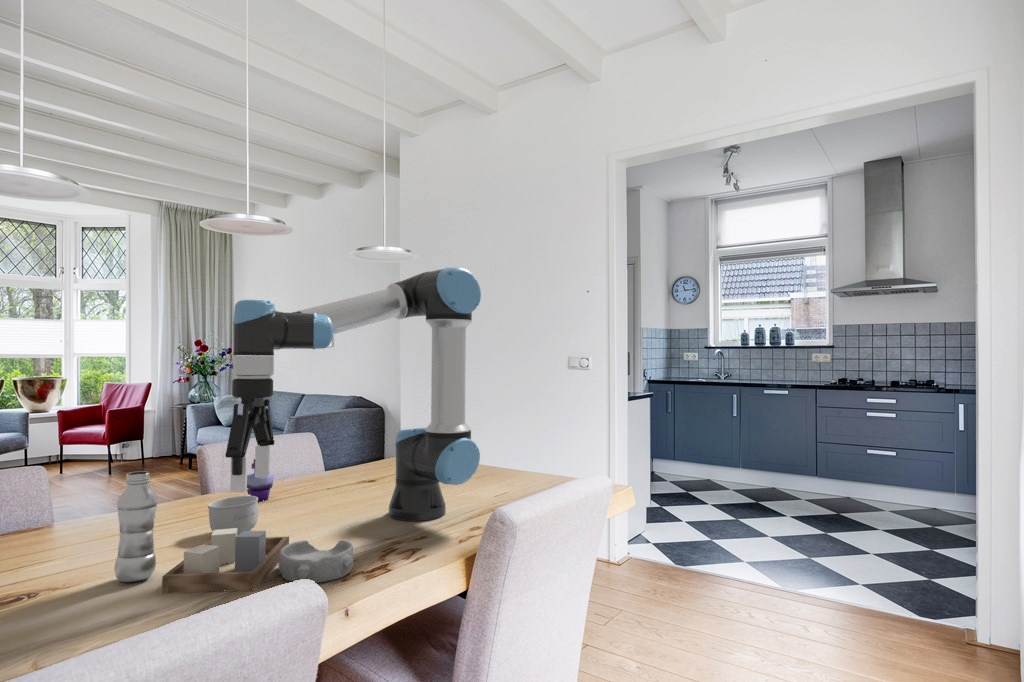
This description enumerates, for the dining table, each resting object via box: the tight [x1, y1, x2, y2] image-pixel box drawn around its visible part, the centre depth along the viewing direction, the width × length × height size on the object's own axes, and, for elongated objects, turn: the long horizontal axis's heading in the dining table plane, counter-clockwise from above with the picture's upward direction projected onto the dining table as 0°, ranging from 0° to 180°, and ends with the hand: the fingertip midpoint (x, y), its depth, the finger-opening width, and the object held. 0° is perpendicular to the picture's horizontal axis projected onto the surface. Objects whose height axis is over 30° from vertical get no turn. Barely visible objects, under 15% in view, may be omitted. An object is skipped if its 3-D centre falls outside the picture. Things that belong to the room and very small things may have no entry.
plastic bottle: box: [113, 470, 159, 583], centre depth 111 cm, size 6×7×20 cm
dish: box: [278, 539, 355, 584], centre depth 116 cm, size 14×14×5 cm
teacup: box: [207, 494, 259, 535], centre depth 142 cm, size 14×11×8 cm
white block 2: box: [210, 528, 237, 565], centre depth 122 cm, size 4×4×6 cm
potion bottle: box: [246, 459, 276, 503], centre depth 173 cm, size 9×9×12 cm
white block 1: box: [183, 543, 221, 574], centre depth 111 cm, size 4×4×6 cm
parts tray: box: [161, 535, 290, 594], centre depth 117 cm, size 16×22×3 cm
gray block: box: [234, 530, 267, 572], centre depth 117 cm, size 4×4×7 cm
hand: (250, 484), depth 118 cm, fingers open, 13 cm apart
